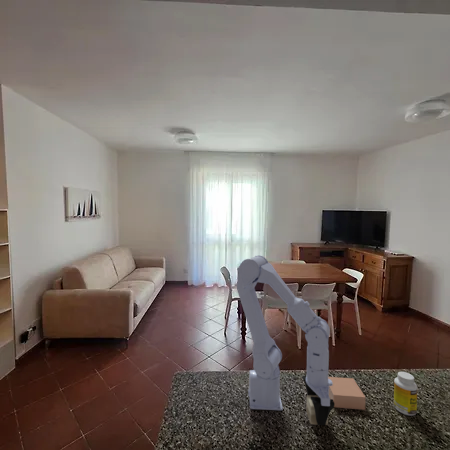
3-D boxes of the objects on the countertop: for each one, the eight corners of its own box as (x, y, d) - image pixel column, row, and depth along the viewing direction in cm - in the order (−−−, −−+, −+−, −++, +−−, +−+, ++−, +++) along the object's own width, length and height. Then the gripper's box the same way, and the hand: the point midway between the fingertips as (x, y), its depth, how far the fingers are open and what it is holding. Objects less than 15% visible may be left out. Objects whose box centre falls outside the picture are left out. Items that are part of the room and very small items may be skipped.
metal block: (310, 424, 70) (311, 406, 70) (306, 412, 74) (306, 395, 74) (327, 425, 69) (327, 407, 69) (322, 412, 74) (322, 395, 74)
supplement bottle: (411, 419, 72) (412, 383, 71) (390, 407, 76) (390, 373, 76) (420, 411, 75) (420, 377, 74) (398, 400, 79) (399, 367, 79)
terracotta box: (333, 408, 76) (333, 394, 76) (324, 388, 85) (324, 376, 85) (365, 410, 75) (365, 397, 75) (353, 390, 84) (353, 378, 84)
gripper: (342, 382, 64) (341, 435, 64) (323, 352, 79) (322, 396, 79) (314, 380, 65) (313, 434, 65) (300, 351, 79) (299, 395, 79)
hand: (316, 413), depth 72 cm, fingers open, 7 cm apart
